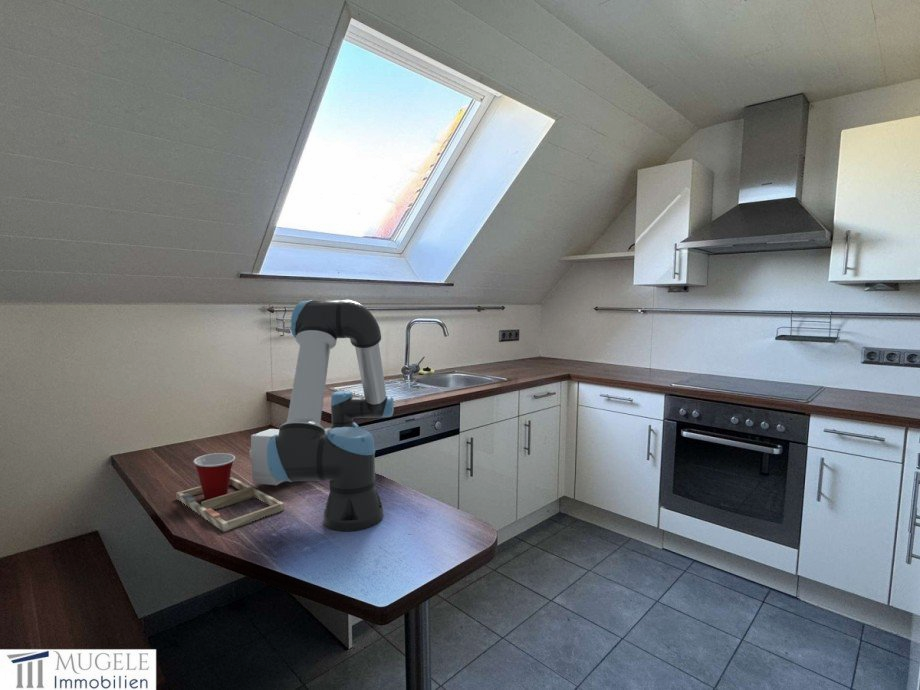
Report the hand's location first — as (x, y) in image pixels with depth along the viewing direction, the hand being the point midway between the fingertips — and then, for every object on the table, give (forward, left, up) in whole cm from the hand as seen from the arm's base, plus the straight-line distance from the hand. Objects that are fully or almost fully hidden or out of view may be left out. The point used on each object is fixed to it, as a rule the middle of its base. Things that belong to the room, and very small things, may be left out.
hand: (260, 457), depth 140 cm
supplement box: (0, -4, -8) cm, 9 cm away
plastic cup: (+5, +11, -10) cm, 16 cm away
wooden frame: (-3, +11, -10) cm, 15 cm away
